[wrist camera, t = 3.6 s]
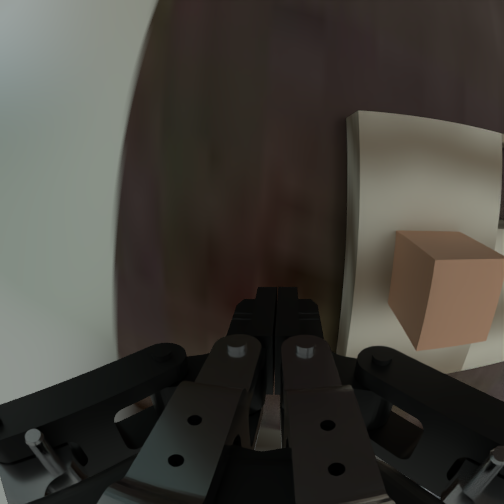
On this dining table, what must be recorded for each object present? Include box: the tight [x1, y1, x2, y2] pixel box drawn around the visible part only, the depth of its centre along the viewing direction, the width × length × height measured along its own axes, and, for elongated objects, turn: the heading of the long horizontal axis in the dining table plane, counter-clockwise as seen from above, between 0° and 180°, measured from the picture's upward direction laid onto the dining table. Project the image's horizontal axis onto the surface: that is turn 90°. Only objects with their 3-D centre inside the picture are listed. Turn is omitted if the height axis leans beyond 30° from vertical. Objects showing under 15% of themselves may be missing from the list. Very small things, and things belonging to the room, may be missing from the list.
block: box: [388, 230, 504, 351], centre depth 12 cm, size 4×4×4 cm
